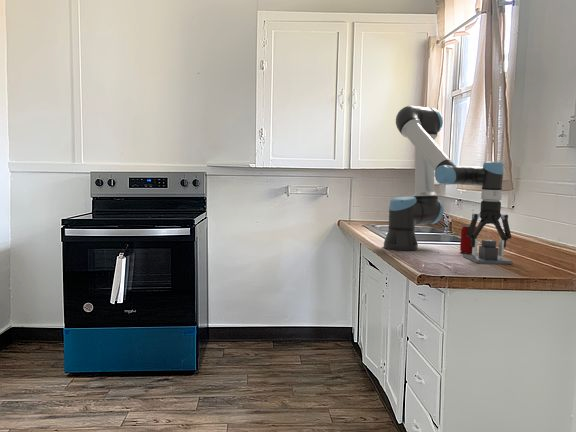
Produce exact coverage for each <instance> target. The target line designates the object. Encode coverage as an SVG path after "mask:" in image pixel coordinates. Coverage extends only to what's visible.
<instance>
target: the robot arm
mask: <svg viewBox="0 0 576 432" xmlns="http://www.w3.org/2000/svg"><path fill="white" fill-rule="evenodd" d="M443 121H444V118H443V116H442V113H441V112H440V111H439V110H438V109H436V108H433V107H425V106H416V105H407V106H405V107H404V106H403V108H401V109H400V110H399V111H398V112H397V114H396V117H395V125H396V128H397V131H399V133H400V134H401V136H403V137H404V138H407V139H408V140H409V141H410V143H411V144H412V145H413V146H414V173H415V175H414V177H415V178H414V183H415V184H414V185H415V186H414V188H415V190H414V193H413V194H412V195H411V196H409V195H408V196H407V195H406V196H397V197H393V198H391V199H390V200H389V201H390V202H389V206H388V231H387V234H386V235H385V238H384V242H383V248H384V249H388V250H393V251H403V252H405V251H407V252H408V251H417V250H418V249H419V248H418V246H419V245H418V243H419V242H418V240H417V237H416V233H415V231H416V230H415V228H416V226H417V225H418V226H419V225H421V226H422V225H427V226H429V225H435V224H437V223H438V222H439V221H440V220H441V219H442V217H443V215H444V205H443V203H442V201H441V200H439V195H438V194H437V193H436V191H435V181H436V182H437V183H438V184H440V185H447V186H448V185H449V186H450V185H460V186H461V185H466V186H471V185H472V186H475V185H476V186H481V193H480V194H481V195H480V199H481V201H480V210H479V211H480V212H479V213H473V212H472V214H471V222H470V223H469V225H470V226H469V229H468V232H467V234H466V236H467V237H469V238H470V239H471V245H470V246H471V247H472V255H474V256H477V255H478V236H479V234H480V233H481V232H482V230H483V228H484V227H485V226H486V225H489V224H490V225H494V227H495V229H496V230H497V231H496V232H497V233H498V235H499V237H500V239H498V256H500V257H504V251H505V250H504V249H505V248H506V247H507V241H508V240H509V239H512V234H511V233H512V232H511V229H510V225H509V215H508V214H506V213H503V214H502V213H501V210H502V202H501V200H502V196H503V195H502V194H503V181H504V180H503V179H504V163H503V162H502V161H484V162H483V165H482V166H469V165H467V166H466V165H456V164H454V162H453V161H452V160H451V159H450V157H448V156H447V154H446V153H445V152H444V151H443V150H442V148H440V146H439V145H438V144H437V142H435V140H436V138H438V133H440V131H441V129H442V127H443ZM479 218H480V221H479V223H478V224H477V222H478V219H479ZM499 220H501V221H502V222H500V221H499ZM501 224H502V225H501ZM475 226H476V229H475V231H474V228H475ZM502 227H503V228H502ZM473 231H474V232H473ZM476 237H477V239H476Z"/></svg>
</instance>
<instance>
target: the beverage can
mask: <svg viewBox="0 0 576 432" xmlns="http://www.w3.org/2000/svg"><path fill="white" fill-rule="evenodd" d="M469 226H470V224H464V225H462V227H461V228H460V229H461V231H460V246H459V251H461V253H463V254H472V247H471V246H470V245H471V239H470V238H469V237H467V236H466V234H467V232H468V229H469ZM476 228H477V225H476V226H475V228H474V231H475V229H476ZM474 231H473V232H474ZM476 239H477V240H478V236H477V237H476Z"/></svg>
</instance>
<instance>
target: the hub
mask: <svg viewBox="0 0 576 432" xmlns="http://www.w3.org/2000/svg"><path fill="white" fill-rule="evenodd" d="M462 257H463V258H464V259H466V260H469V261H471V262H474V263H476V264H484V265H485V264H490V265H492V264H493V265H513V264H514V263H513V260H511V259H508V258H506V257H504V256H499V255H498V259H483V258H481V257H479V254H477V256H474V255H472V254H469V253H463V255H462Z"/></svg>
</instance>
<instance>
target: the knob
mask: <svg viewBox="0 0 576 432" xmlns="http://www.w3.org/2000/svg"><path fill="white" fill-rule="evenodd" d="M498 250H499V247H497V240H493V239H481V245H478V255H479V257H481V258H483V259H498V256H499V255H498Z"/></svg>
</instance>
